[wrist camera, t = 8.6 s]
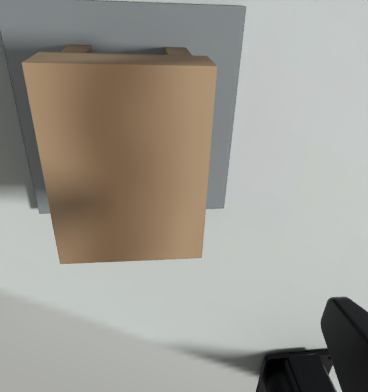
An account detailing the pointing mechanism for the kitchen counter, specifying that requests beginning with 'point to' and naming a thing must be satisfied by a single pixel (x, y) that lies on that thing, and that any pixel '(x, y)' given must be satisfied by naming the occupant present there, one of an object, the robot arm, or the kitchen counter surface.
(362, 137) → the kitchen counter surface
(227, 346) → the kitchen counter surface
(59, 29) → the gray panel
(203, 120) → the stool
